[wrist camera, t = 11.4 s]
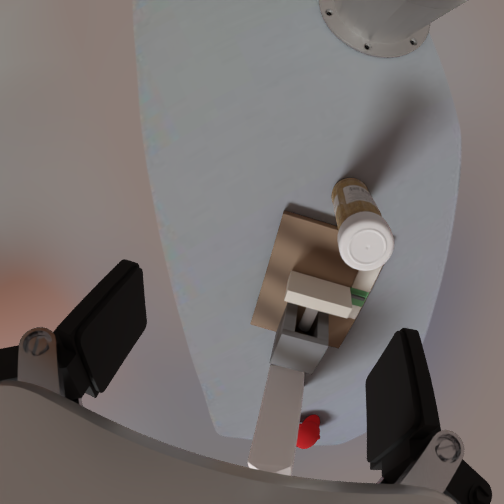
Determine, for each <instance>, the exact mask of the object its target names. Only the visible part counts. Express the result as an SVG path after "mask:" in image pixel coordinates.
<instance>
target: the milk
mask: <svg viewBox="0 0 504 504" xmlns="http://www.w3.org/2000/svg"><path fill="white" fill-rule="evenodd" d="M303 390H304V372H300V371H296V370H292V369H288V368H285V367H281V366H277V365H270V368H269V373H268V377H267V382H266V386H265V390H264V395H263V399H262V404H261V408H260V412H259V416H258V421H257V425H256V429H255V433H254V437H253V441H252V445H251V449H250V453H249V457H248V461H247V462H248V465H249V468H252V469H257V470H262V471H267V472H272V473H278V474H283V475H290V476H292V470H293V464H294V457H295V451H296V444H297V437H298V430H299V423H300V415H301V407H302V399H303Z"/></svg>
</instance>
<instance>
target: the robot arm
mask: <svg viewBox="0 0 504 504" xmlns="http://www.w3.org/2000/svg"><path fill="white" fill-rule="evenodd" d="M466 1H468V0H319V6H320V11H321V14H322V17H323V19H324V21H325V23H326V24H327V26H328V27H329V29H330V30H331V31H332V32H333V33H334V34H335V36H336V37H337V38H338V39H340V40H341V41H342V42H344V43H345V44H346V45H347V46H349V47H351V48H353V49H355V50H356V51H359V52H361V53H364V54H366V55H370V56H374V57H381V58H393V57H400V56H403V55H406V54H408V53H410V52H412V51H414V50H416V49H417V48H418V47H420V45H421V44H422V43H423V42H424V41H425V39H426V37H427V35H428V33H429V28H430V23H431V22H433V21H435V20H436V19H438V18H439V17H441V16H443V15H444V14H446V13H448V12H450V11H451V10H453V9H454V8H456V7H458V6H460V5H461V4H463V3H465V2H466ZM327 13H331V16H328V15H327ZM410 41H412V42H413V45H412V44H411V43H410ZM365 46H368V48H369V49H368V50H366V49H365ZM146 324H147V319H146V308H145V297H144V285H143V272H142V269H141V268H139V265H138V263H135V262H132V261H128V260H122V261H121V262H119V264H117V265H116V266H115V268H113V269H112V270H111V271H110V272H109V273H108V274H107V275H106V276H105V277H104V278H103V279H102V280H101V281H100V282H99V283H98V285H96V287H95V288H93V289H92V290H91V292H90V293H89V294H88V295H87V296H86V297H85V298H84V299H83V300H82V301H81V302H80V303H79V304H78V305H77V306H76V307H75V308H74V309H73V310H72V312H71V313H70V314H69V315H68V316H67V317H66V318H65V319H64V320H63V321H62V322H61V324H60V325H59V326H58V327H57V329H56V330H55V331H54V332H52V331H51V330H49V329H47V328H43V327H37V328H34V329H31V330H29V331H27V332H26V333H25V334H24V335H23V336H22V338H21V340H20V343H19V345H18V346H13V347H8V348H3V349H0V504H490V502H491V499H492V491H491V488H490V485H489V484H488V483H487V481H485V480H484V479H483V478H482V477H481V476H480V475H479V474H478V473H477V472H476V471H474V469H472V468H471V467H470V466H469V465H468V464H467V463H466V462H465V461H464V460H463V456H464V445H463V442H462V440H461V438H460V437H459V436H458V435H457V434H456V433H454V432H452V431H449V430H443V431H441V428H440V422H439V417H438V411H437V405H436V401H435V396H434V391H433V387H432V382H431V377H430V373H429V370H428V366H427V362H426V358H425V354H424V350H423V346H422V343H421V339H420V336H419V333H418V331H417V330H413V329H407V328H402V329H401V330H400V331H397V332H396V333H395V334H394V336H393V337H392V339H391V341H390V342H389V344H388V346H387V347H386V349H385V351H384V352H383V354H382V355H381V357H380V358H379V360H378V362H377V363H376V365H375V366H374V368H373V369H372V371H371V372H370V374H369V375H368V377H367V379H366V409H367V461H368V462H370V469H371V470H382V477H381V479H380V480H379V481H378V482H377V483H376V484H375V483H374V484H373V483H353V482H341V481H328V480H319V479H311V478H302V477H296V476H290V475H283V474H278V473H272V472H267V471H262V470H257V469H252V468H248V467H243V466H239V465H235V464H231V463H227V462H224V461H220V460H216V459H212V458H209V457H206V456H202V455H199V454H196V453H193V452H190V451H186V450H184V449H181V448H178V447H175V446H172V445H169V444H166V443H164V442H161V441H158V440H156V439H153V438H151V437H148V436H146V435H143V434H141V433H138V432H136V431H133V430H131V429H129V428H127V427H124V426H122V425H120V424H117V423H116V422H113V421H111V420H109V419H107V418H105V417H103V416H101V415H98V414H97V413H95V412H92V411H90V410H88V409H86V408H85V407H83V405H82V399H81V398H82V396H83V395H84V393H87V394H89V395H91V396H92V397H94V398H96V397H97V395H98V393H99V392H100V393H102V392H104V391H105V389H106V388H107V386H108V385H109V383H110V382H111V380H112V378H113V377H114V375H115V374H116V372H117V371H118V369H119V367H120V366H121V365H122V363H123V361H124V360H125V358H126V357H127V355H128V354H129V352H130V351H131V349H132V348H133V346H134V345H135V343H136V342H137V340H138V339H139V337H140V336H141V334H142V333H143V331H144V330H145V328H146Z"/></svg>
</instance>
